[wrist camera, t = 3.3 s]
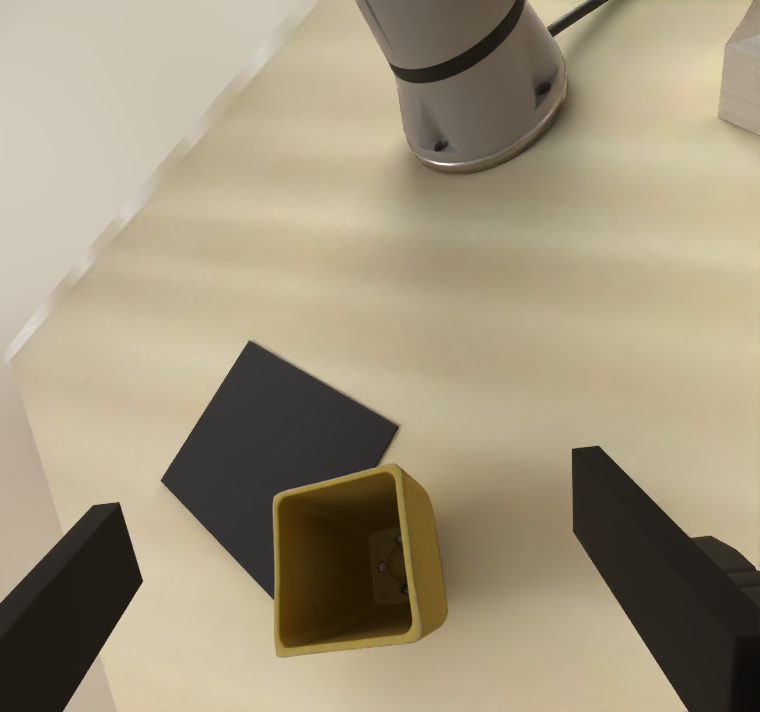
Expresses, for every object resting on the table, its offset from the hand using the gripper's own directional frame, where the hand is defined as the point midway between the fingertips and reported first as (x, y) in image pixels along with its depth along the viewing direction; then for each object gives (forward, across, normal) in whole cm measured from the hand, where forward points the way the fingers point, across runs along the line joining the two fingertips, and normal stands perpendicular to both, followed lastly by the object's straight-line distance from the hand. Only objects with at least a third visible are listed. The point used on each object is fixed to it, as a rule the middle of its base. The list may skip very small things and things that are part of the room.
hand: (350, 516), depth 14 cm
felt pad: (+27, -10, -11) cm, 31 cm away
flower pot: (+16, +1, -15) cm, 22 cm away
